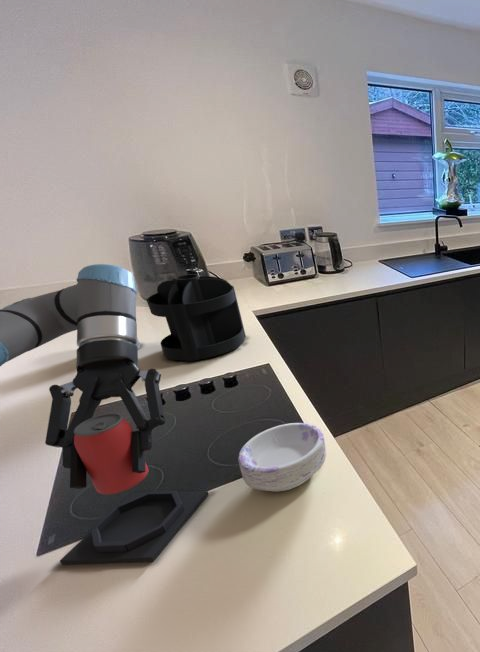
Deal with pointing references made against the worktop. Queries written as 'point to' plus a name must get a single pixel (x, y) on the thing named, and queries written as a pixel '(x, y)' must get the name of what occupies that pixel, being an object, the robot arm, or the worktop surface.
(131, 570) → the worktop surface
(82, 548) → the dock pad
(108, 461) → the beer can
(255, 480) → the white round bowl
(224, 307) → the container
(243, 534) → the worktop surface
